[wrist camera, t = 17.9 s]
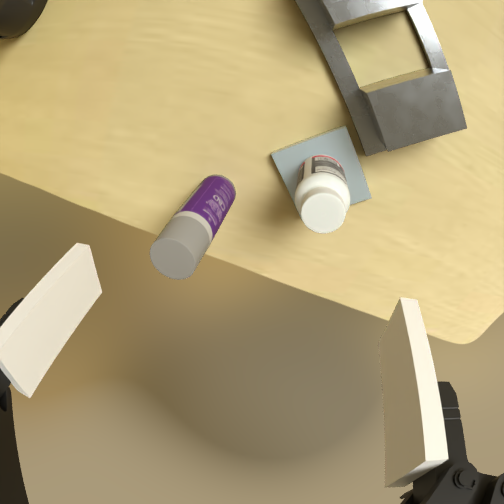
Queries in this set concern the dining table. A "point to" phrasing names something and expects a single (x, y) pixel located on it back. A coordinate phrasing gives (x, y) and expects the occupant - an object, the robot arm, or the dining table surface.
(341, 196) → the pill bottle
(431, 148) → the dining table surface
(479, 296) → the dining table surface
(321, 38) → the housing
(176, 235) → the container
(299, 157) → the pad
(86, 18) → the dining table surface
